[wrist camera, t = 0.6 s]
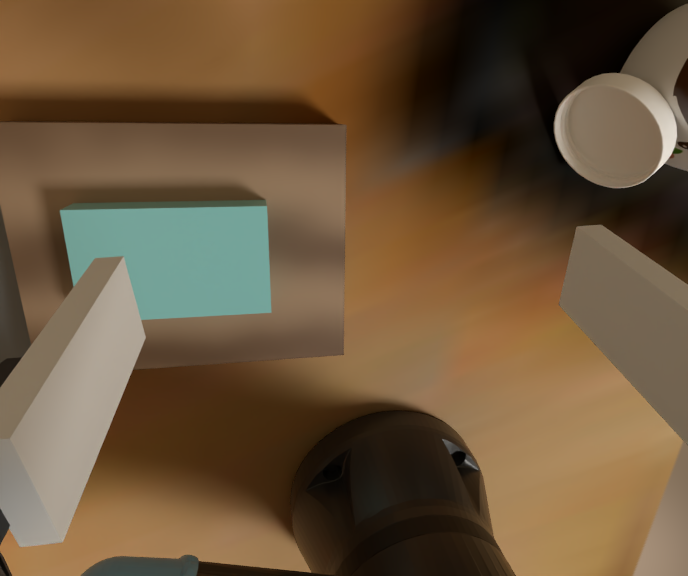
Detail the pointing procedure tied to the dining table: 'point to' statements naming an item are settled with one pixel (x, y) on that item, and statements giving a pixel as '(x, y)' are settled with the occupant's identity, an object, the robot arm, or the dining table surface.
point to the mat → (10, 305)
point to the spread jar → (631, 111)
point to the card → (178, 253)
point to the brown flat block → (189, 185)
